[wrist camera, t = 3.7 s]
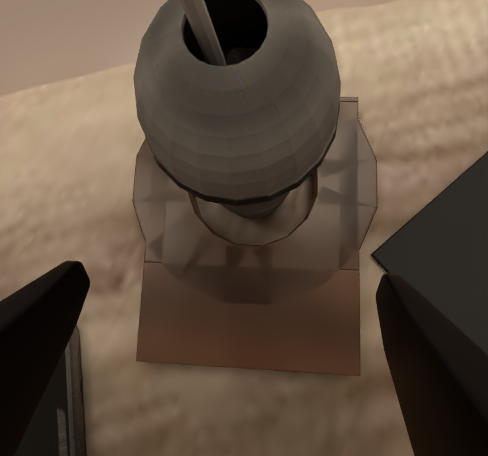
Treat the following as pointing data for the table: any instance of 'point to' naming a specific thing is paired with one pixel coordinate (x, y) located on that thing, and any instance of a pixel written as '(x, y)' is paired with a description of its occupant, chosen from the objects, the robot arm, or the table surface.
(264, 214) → the beverage cup
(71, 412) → the phone
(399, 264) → the mat
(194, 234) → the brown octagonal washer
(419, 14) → the table surface
